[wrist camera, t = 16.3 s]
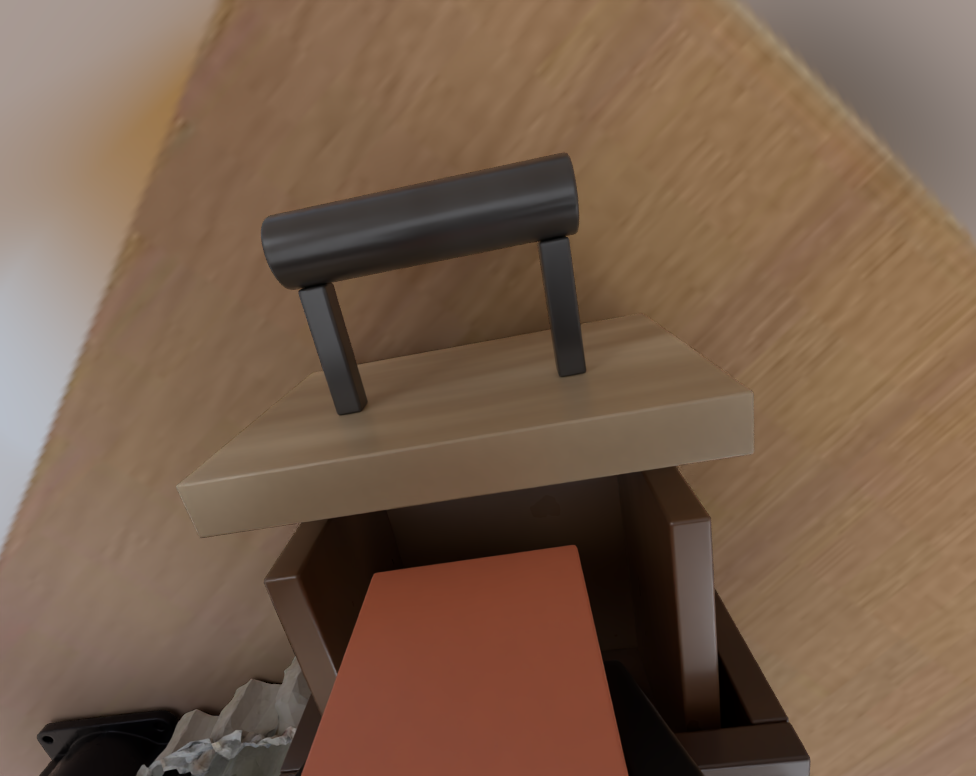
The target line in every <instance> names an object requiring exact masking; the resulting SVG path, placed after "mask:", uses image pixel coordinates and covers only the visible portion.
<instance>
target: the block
mask: <svg viewBox="0 0 976 776" xmlns="http://www.w3.org/2000/svg"><path fill="white" fill-rule="evenodd" d="M301 776H628V771H627V767H626V762H625V758H624V753H623V749H622V745H621V740H620V736H619V731H618V727H617V722H616V718H615V713H614V709H613V704H612V700H611V696H610V691H609V687H608V682H607V678H606V673H605V669H604V664H603V660H602V656H601V651H600V647H599V642H598V638H597V633H596V629H595V624H594V620H593V615H592V611H591V607H590V602H589V598H588V593H587V589H586V584H585V580H584V575H583V571H582V567H581V562H580V558H579V553H578V549H577V547H576V545H568V546H560V547H553V548H546V549H539V550H532V551H525V552H518V553H511V554H504V555H497V556H490V557H483V558H476V559H469V560H462V561H455V562H448V563H441V564H434V565H427V566H420V567H413V568H406V569H399V570H392V571H385V572H377V573H375V574H373V577H372V580H371V582H370V585H369V588H368V591H367V593H366V596H365V599H364V602H363V605H362V607H361V610H360V613H359V616H358V618H357V621H356V624H355V627H354V630H353V632H352V635H351V638H350V641H349V644H348V646H347V649H346V652H345V655H344V657H343V660H342V663H341V666H340V669H339V671H338V674H337V677H336V680H335V682H334V685H333V688H332V691H331V694H330V696H329V699H328V702H327V705H326V707H325V710H324V713H323V716H322V719H321V721H320V724H319V727H318V730H317V733H316V735H315V738H314V741H313V744H312V746H311V749H310V752H309V755H308V758H307V760H306V763H305V766H304V769H303V771H302V774H301Z"/></svg>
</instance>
